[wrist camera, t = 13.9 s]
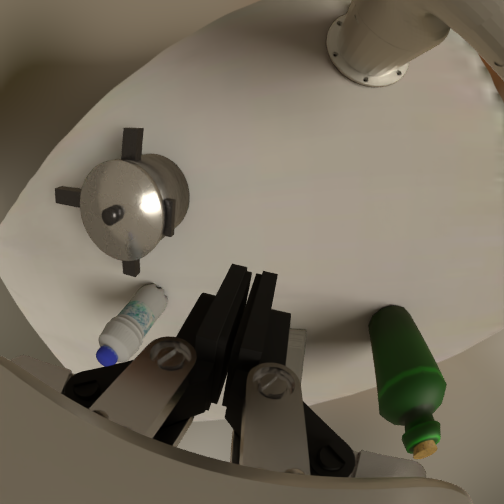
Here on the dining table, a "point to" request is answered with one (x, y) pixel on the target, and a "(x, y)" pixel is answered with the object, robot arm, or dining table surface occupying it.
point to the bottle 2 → (406, 379)
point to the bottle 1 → (131, 326)
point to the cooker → (163, 175)
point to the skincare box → (296, 351)
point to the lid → (122, 209)
